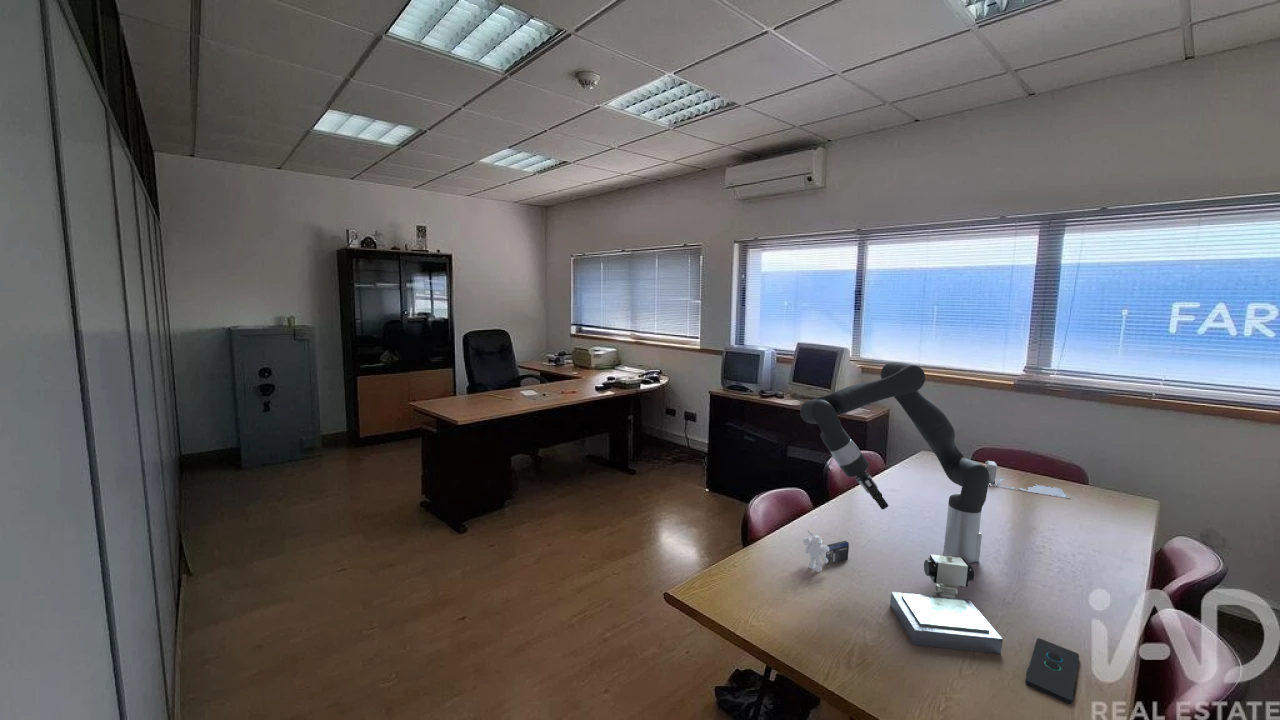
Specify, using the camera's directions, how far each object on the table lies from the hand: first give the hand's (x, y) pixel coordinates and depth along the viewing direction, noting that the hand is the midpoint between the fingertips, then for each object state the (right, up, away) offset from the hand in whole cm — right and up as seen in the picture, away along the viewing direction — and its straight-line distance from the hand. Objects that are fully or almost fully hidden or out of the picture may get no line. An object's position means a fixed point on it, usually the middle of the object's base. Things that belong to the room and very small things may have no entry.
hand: (880, 502), depth 146 cm
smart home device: (+25, -31, -31) cm, 50 cm away
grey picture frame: (+8, -28, -17) cm, 34 cm away
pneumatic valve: (+18, -26, -2) cm, 32 cm away
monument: (+105, -17, +82) cm, 134 cm away
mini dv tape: (-7, -24, +15) cm, 29 cm away
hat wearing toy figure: (-16, -24, +10) cm, 31 cm away
